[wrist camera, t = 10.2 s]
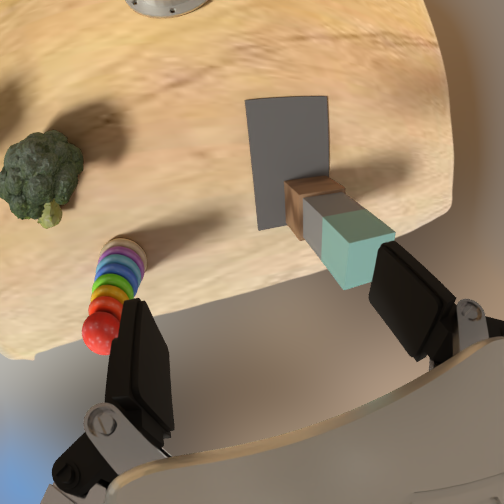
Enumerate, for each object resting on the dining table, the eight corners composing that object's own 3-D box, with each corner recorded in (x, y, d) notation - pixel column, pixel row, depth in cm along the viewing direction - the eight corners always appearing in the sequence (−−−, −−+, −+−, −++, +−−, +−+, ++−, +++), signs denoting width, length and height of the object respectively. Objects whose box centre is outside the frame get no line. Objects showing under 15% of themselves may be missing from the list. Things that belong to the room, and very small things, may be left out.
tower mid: (302, 197, 35) (322, 216, 30) (342, 191, 36) (366, 209, 31) (303, 237, 39) (321, 260, 34) (340, 229, 40) (361, 250, 35)
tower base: (283, 181, 40) (299, 194, 35) (325, 175, 41) (345, 188, 36) (285, 222, 44) (299, 241, 39) (325, 215, 45) (342, 232, 40)
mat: (244, 100, 33) (245, 100, 33) (325, 96, 35) (326, 96, 34) (258, 229, 44) (258, 230, 43) (326, 216, 46) (327, 217, 45)
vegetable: (7, 218, 29) (-20, 142, 18) (67, 177, 37) (60, 100, 26) (37, 270, 28) (0, 192, 17) (104, 218, 36) (100, 133, 25)
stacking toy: (139, 230, 39) (120, 320, 24) (153, 273, 44) (148, 367, 28) (94, 241, 38) (57, 330, 23) (111, 281, 42) (91, 373, 27)
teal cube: (322, 216, 30) (349, 243, 26) (365, 208, 31) (395, 232, 26) (321, 260, 34) (343, 290, 29) (361, 250, 35) (386, 276, 30)
